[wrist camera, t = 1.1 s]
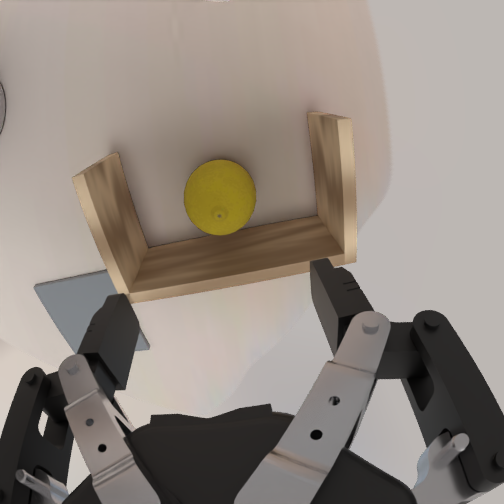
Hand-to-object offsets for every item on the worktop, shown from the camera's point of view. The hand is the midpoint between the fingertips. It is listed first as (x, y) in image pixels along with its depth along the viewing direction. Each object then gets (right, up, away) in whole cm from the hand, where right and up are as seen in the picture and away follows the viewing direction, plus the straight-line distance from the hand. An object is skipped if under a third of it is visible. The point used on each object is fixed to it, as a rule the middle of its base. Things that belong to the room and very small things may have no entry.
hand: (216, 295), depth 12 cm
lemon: (-1, +8, +14) cm, 16 cm away
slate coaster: (-18, -6, +20) cm, 28 cm away
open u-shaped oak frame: (-1, +8, +14) cm, 16 cm away
